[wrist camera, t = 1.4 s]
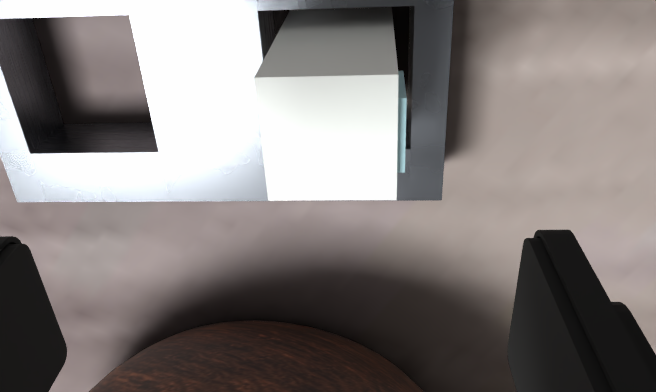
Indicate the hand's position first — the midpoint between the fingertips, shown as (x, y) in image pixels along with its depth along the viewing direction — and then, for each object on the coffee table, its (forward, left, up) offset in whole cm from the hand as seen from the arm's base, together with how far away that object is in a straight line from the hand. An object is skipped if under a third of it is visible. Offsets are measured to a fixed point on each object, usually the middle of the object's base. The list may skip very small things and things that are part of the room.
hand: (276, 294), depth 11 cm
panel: (+4, 0, -15) cm, 16 cm away
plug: (-1, 0, -15) cm, 15 cm away
